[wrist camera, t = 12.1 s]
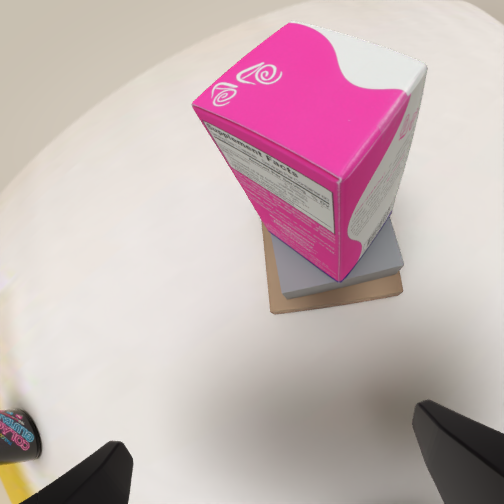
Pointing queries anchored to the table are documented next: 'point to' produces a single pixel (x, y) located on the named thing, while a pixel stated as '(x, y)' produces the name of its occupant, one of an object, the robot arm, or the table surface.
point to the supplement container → (17, 438)
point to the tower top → (316, 281)
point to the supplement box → (317, 137)
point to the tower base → (328, 298)
